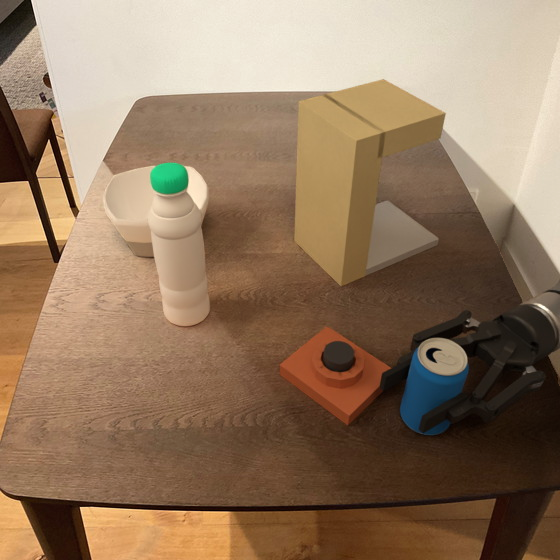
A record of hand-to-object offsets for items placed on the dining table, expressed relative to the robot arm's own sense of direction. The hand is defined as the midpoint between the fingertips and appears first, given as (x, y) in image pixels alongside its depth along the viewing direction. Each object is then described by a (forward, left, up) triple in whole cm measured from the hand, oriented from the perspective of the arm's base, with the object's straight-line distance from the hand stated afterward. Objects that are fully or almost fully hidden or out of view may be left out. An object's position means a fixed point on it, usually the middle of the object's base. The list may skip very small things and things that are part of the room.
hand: (402, 402), depth 68 cm
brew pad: (+11, -1, -7) cm, 13 cm away
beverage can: (-1, -5, -7) cm, 8 cm away
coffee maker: (+29, -27, -7) cm, 40 cm away
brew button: (+11, -1, -3) cm, 12 cm away
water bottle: (+35, +7, -7) cm, 37 cm away
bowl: (+54, -1, -7) cm, 54 cm away
